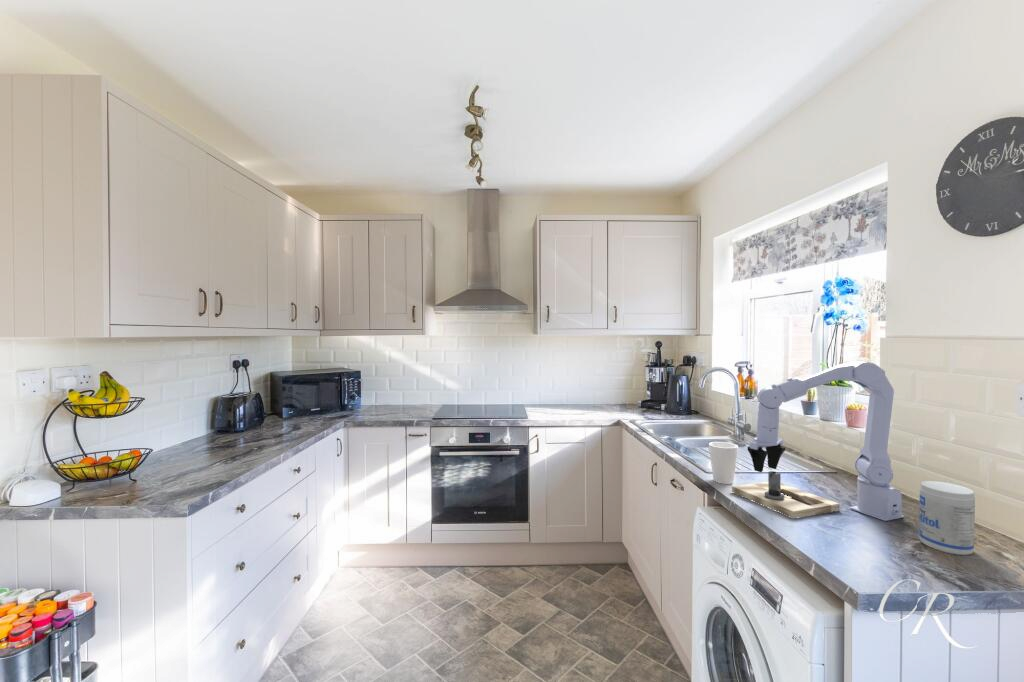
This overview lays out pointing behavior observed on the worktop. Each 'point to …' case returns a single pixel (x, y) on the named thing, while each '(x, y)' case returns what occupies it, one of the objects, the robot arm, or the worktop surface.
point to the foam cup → (723, 461)
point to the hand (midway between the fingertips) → (765, 469)
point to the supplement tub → (947, 517)
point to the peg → (774, 486)
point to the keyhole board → (787, 500)
